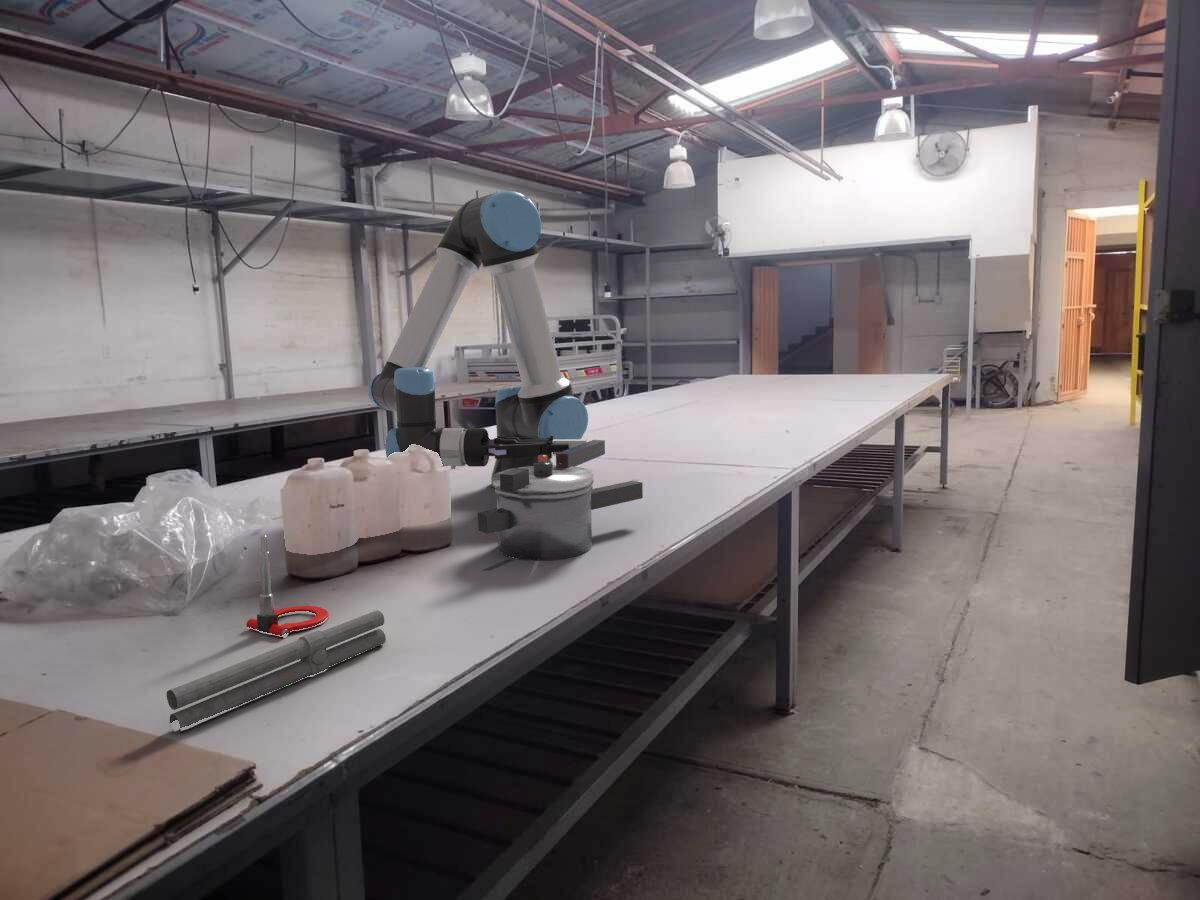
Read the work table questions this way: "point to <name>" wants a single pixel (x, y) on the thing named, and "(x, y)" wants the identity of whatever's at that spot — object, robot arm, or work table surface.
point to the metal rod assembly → (304, 648)
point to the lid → (552, 472)
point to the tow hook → (268, 615)
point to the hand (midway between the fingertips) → (586, 446)
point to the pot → (551, 520)
